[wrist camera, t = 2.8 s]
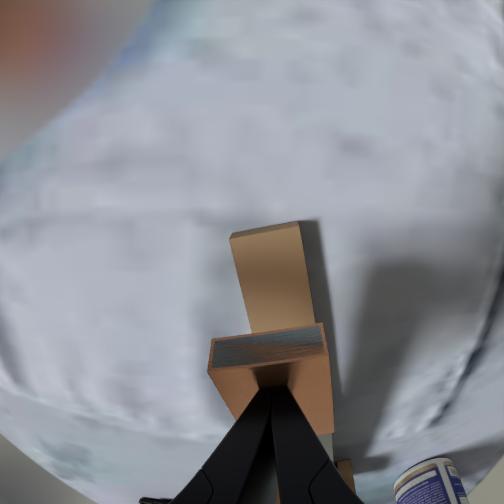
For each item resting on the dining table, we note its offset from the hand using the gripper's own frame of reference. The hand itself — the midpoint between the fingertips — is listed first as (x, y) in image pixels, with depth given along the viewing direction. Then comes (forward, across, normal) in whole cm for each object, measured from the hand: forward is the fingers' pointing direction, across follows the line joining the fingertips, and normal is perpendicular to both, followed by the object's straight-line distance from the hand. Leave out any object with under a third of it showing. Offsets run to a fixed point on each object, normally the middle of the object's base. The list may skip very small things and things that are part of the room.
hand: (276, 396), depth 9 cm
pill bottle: (+7, -10, +20) cm, 23 cm away
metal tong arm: (+3, 0, +7) cm, 8 cm away
